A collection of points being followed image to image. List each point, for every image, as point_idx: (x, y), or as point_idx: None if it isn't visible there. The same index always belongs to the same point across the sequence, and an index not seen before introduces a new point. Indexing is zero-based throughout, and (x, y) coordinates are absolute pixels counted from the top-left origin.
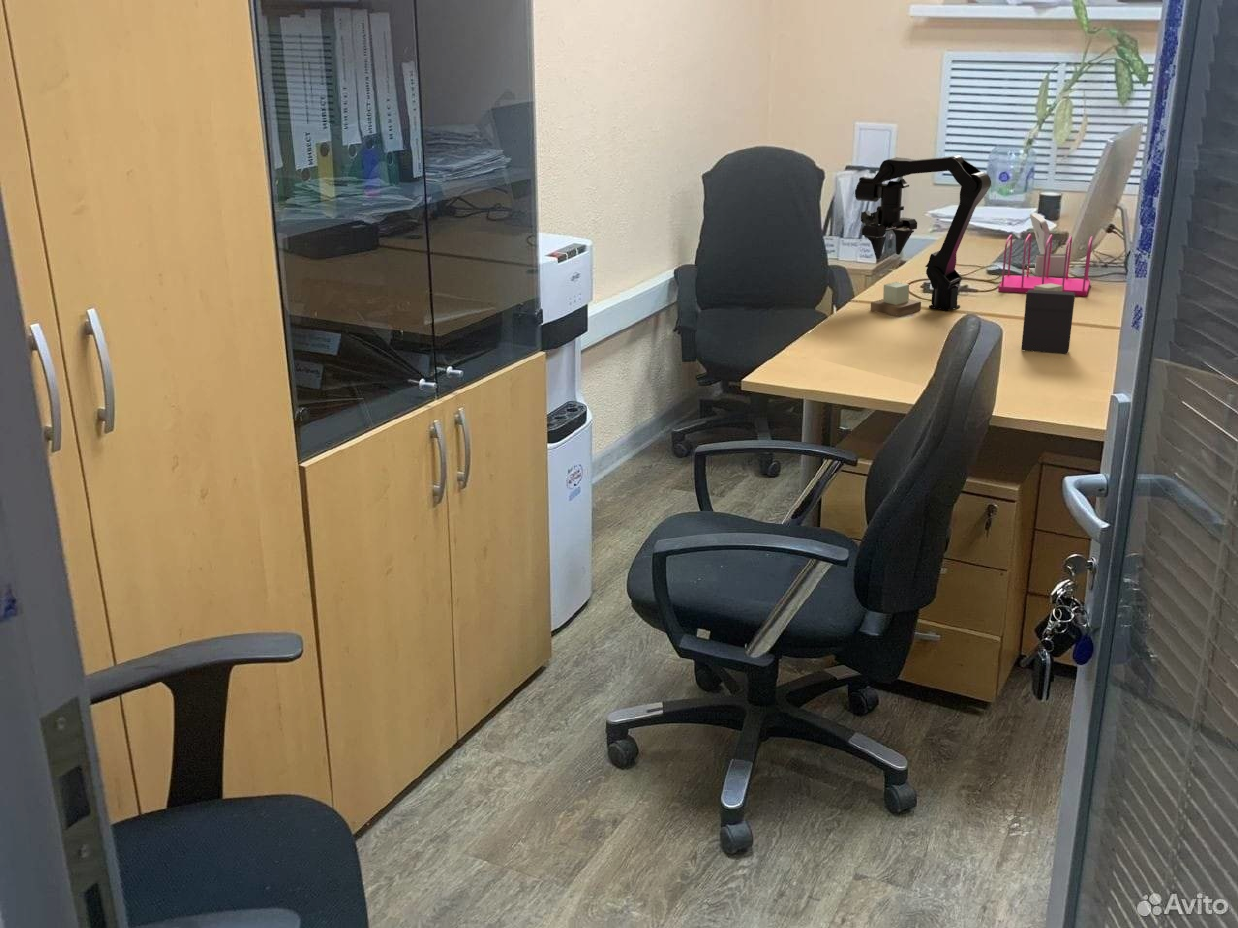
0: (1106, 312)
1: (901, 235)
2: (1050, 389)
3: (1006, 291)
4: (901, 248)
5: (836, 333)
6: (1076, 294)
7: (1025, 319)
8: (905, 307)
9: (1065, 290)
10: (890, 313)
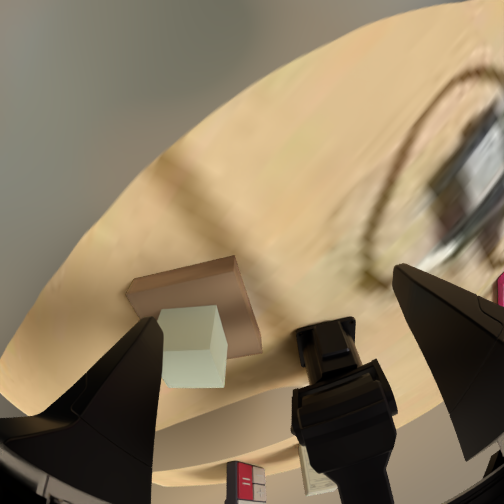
0: (433, 406)
1: (480, 401)
2: (180, 478)
3: (498, 289)
4: (414, 333)
5: (38, 353)
6: None
7: (227, 490)
8: None
9: None
10: None
